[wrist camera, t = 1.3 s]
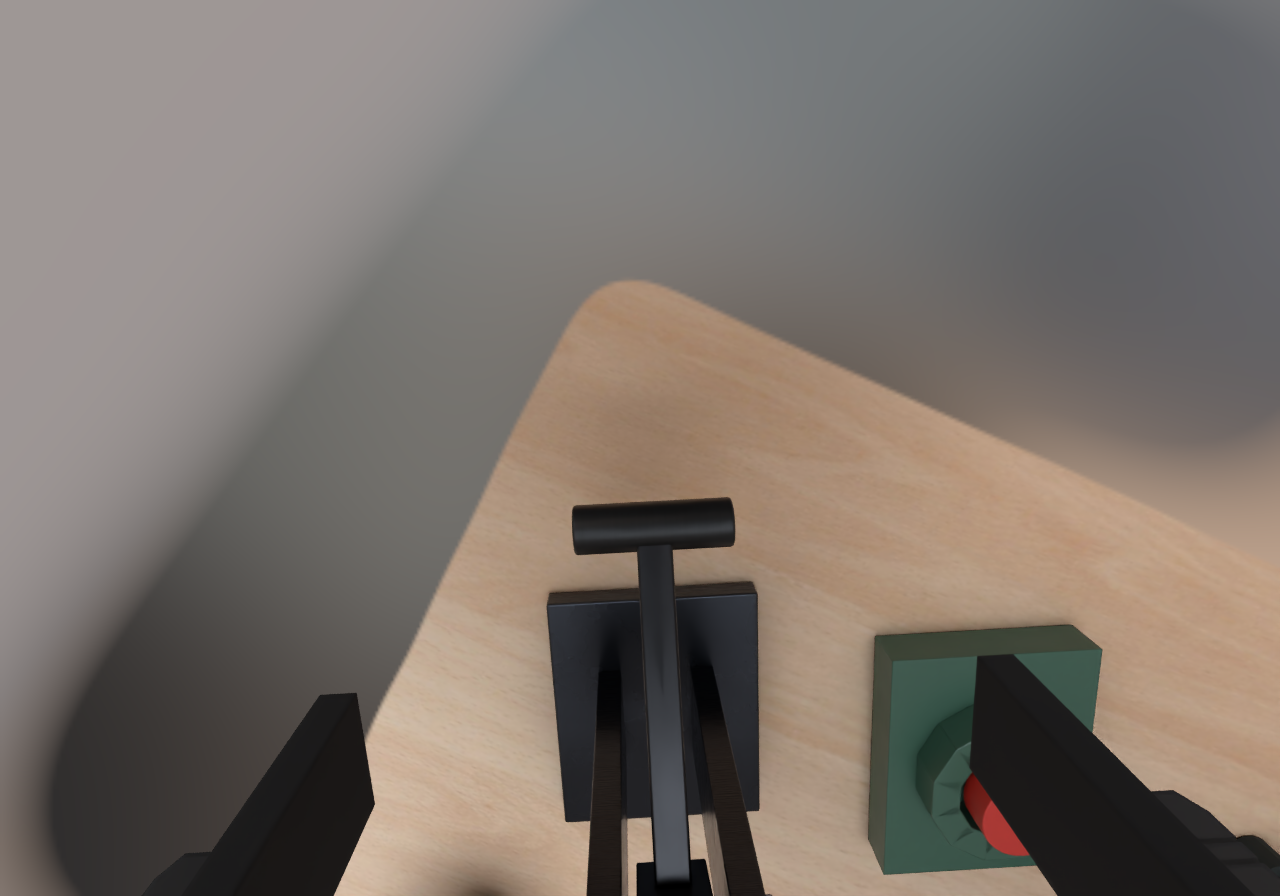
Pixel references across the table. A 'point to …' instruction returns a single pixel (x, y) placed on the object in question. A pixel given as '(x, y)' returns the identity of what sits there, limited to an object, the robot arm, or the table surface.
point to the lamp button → (990, 819)
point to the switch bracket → (617, 734)
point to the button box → (952, 737)
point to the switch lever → (661, 660)
